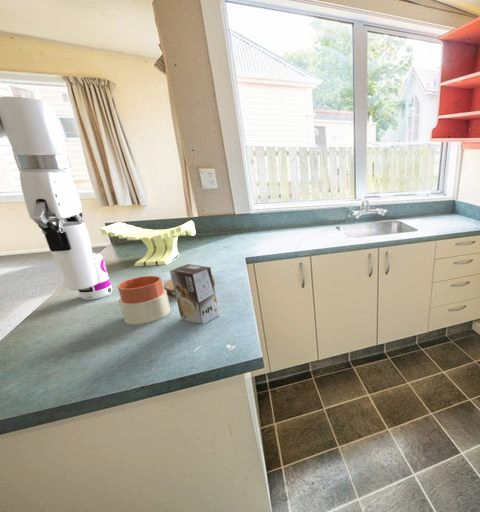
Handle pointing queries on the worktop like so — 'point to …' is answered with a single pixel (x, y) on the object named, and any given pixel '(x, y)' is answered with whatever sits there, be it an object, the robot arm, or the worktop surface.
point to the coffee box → (195, 293)
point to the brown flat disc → (170, 289)
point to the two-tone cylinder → (145, 310)
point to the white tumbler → (76, 258)
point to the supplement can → (103, 284)
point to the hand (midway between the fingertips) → (70, 245)
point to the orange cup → (140, 289)
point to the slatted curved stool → (152, 240)
